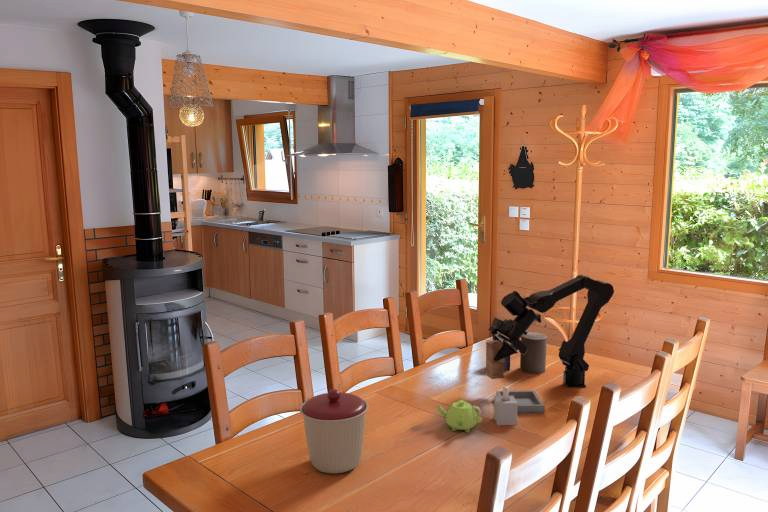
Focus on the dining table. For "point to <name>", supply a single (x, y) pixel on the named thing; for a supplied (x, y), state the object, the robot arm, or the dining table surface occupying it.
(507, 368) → the flask
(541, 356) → the pillar candle
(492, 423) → the dining table surface
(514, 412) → the grey soap dispenser
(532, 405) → the tray
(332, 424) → the canister
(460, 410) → the teapot
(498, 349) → the walnut block
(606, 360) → the dining table surface
